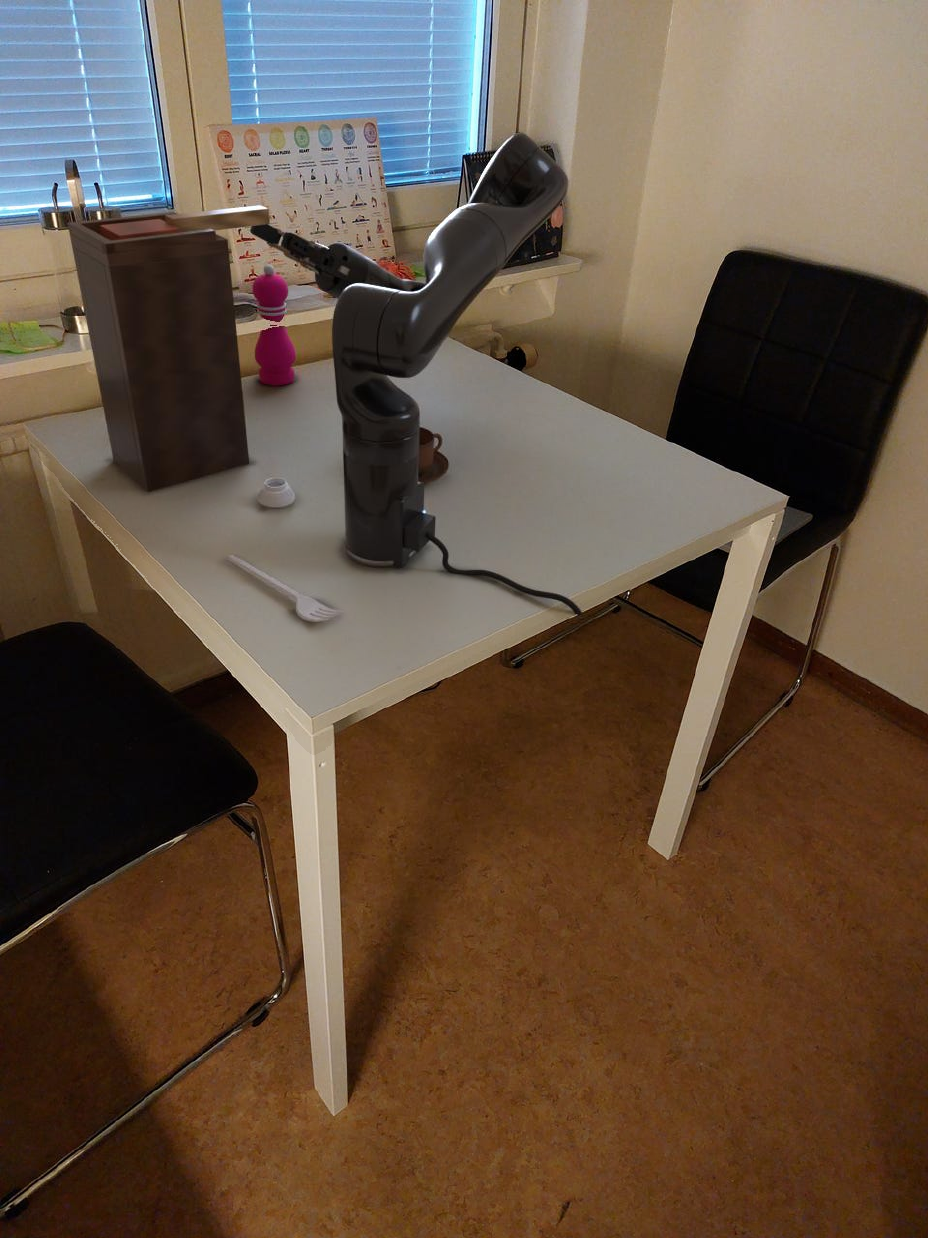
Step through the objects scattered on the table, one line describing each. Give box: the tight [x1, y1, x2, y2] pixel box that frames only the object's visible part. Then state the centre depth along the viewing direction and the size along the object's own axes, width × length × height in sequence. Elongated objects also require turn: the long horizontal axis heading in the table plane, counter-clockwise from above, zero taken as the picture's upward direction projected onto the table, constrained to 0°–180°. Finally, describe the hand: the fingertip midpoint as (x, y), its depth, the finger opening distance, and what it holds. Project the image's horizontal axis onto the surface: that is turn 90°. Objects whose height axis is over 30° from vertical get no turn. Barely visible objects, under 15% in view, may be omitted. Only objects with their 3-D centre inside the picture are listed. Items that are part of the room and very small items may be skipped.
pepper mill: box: [252, 264, 297, 386], centre depth 156 cm, size 7×7×20 cm
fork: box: [227, 554, 345, 623], centre depth 107 cm, size 3×20×2 cm, turn 49°
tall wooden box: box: [67, 211, 250, 493], centre depth 124 cm, size 16×12×33 cm
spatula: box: [100, 204, 271, 240], centre depth 118 cm, size 22×6×2 cm, turn 130°
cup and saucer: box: [418, 426, 450, 485], centre depth 133 cm, size 12×12×6 cm
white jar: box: [257, 477, 296, 508], centre depth 125 cm, size 5×3×5 cm
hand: (268, 231), depth 125 cm, fingers open, 8 cm apart
